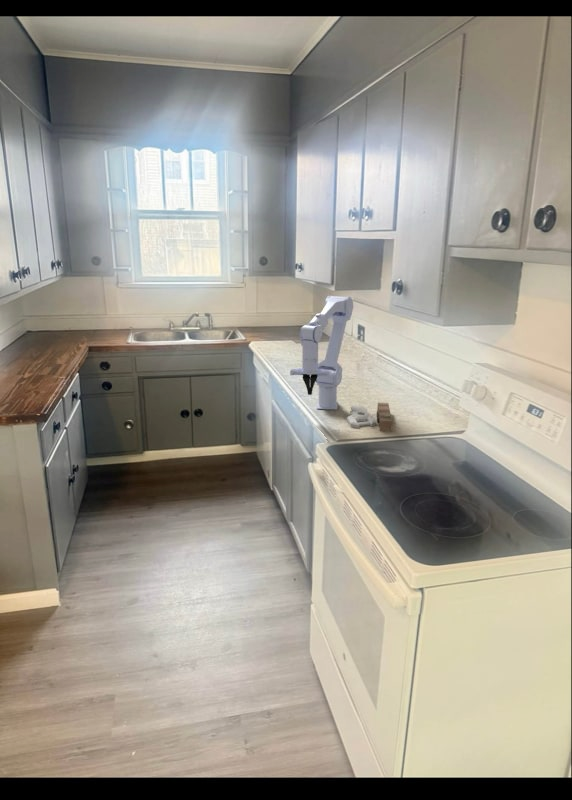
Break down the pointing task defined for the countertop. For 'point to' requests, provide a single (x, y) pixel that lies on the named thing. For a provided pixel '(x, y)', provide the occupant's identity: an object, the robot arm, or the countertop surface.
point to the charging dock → (384, 417)
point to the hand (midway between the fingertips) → (310, 394)
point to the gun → (360, 417)
